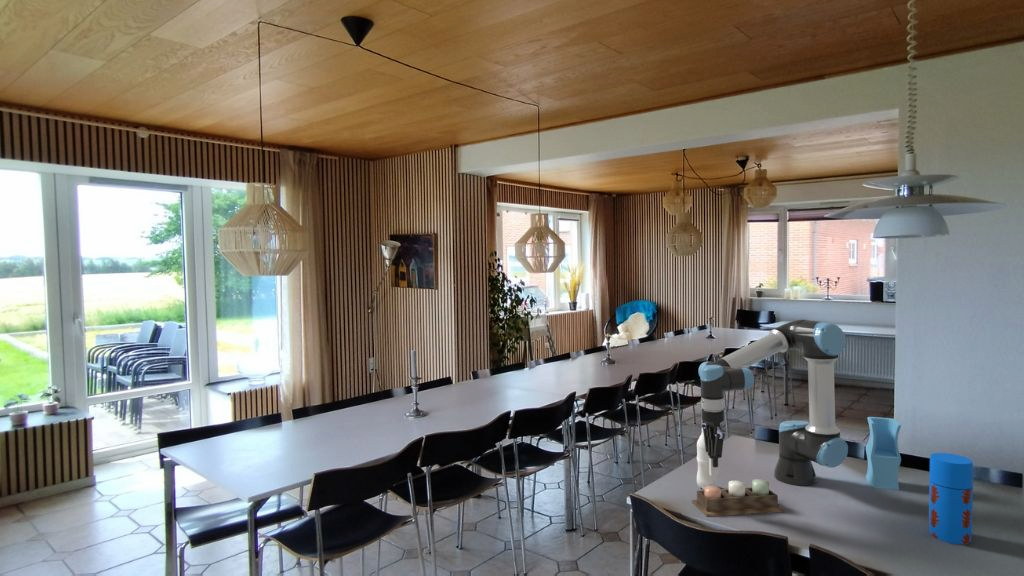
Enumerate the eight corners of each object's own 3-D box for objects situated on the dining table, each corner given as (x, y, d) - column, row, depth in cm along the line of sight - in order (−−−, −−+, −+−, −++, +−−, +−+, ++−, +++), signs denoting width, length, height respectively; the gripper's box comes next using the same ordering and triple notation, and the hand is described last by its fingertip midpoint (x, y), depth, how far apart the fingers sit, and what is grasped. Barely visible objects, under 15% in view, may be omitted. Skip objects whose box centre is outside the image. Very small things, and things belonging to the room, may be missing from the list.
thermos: (920, 529, 186) (921, 453, 185) (950, 527, 187) (952, 451, 186) (948, 545, 175) (949, 465, 174) (980, 543, 176) (982, 463, 175)
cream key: (740, 493, 208) (740, 480, 208) (748, 499, 203) (748, 485, 202) (725, 494, 207) (725, 480, 207) (733, 500, 202) (733, 486, 202)
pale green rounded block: (763, 492, 209) (763, 478, 209) (772, 498, 204) (772, 484, 203) (749, 493, 208) (749, 479, 208) (757, 499, 203) (757, 485, 203)
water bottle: (717, 492, 219) (717, 427, 217) (697, 490, 220) (697, 426, 219) (714, 484, 226) (714, 422, 224) (695, 483, 227) (695, 421, 226)
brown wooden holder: (764, 497, 213) (764, 484, 212) (783, 511, 201) (783, 497, 200) (692, 502, 210) (692, 488, 209) (706, 516, 198) (706, 502, 198)
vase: (870, 486, 221) (871, 422, 220) (865, 477, 231) (866, 416, 229) (900, 490, 218) (901, 425, 217) (894, 481, 227) (895, 418, 226)
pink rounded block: (716, 499, 207) (716, 485, 207) (723, 505, 202) (723, 491, 202) (701, 499, 207) (701, 486, 206) (708, 506, 201) (708, 492, 201)
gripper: (694, 405, 209) (695, 469, 210) (710, 414, 196) (712, 482, 197) (714, 404, 210) (715, 467, 211) (731, 413, 197) (732, 481, 198)
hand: (713, 474), depth 204 cm, fingers closed
